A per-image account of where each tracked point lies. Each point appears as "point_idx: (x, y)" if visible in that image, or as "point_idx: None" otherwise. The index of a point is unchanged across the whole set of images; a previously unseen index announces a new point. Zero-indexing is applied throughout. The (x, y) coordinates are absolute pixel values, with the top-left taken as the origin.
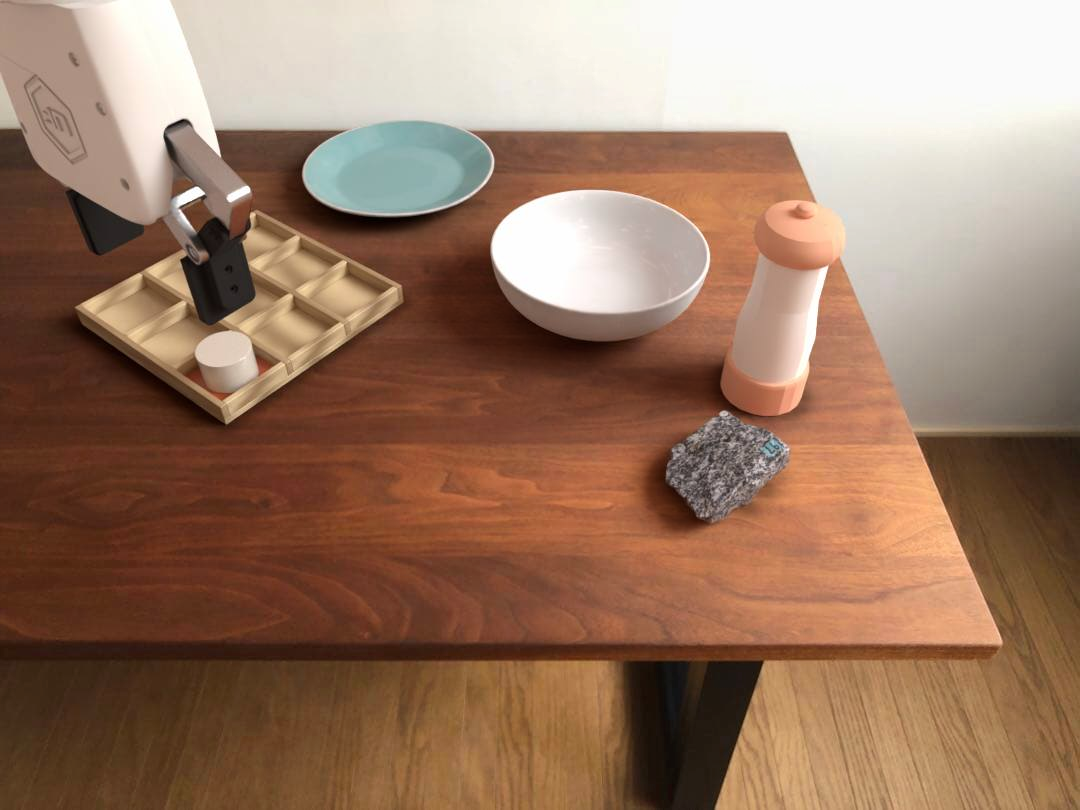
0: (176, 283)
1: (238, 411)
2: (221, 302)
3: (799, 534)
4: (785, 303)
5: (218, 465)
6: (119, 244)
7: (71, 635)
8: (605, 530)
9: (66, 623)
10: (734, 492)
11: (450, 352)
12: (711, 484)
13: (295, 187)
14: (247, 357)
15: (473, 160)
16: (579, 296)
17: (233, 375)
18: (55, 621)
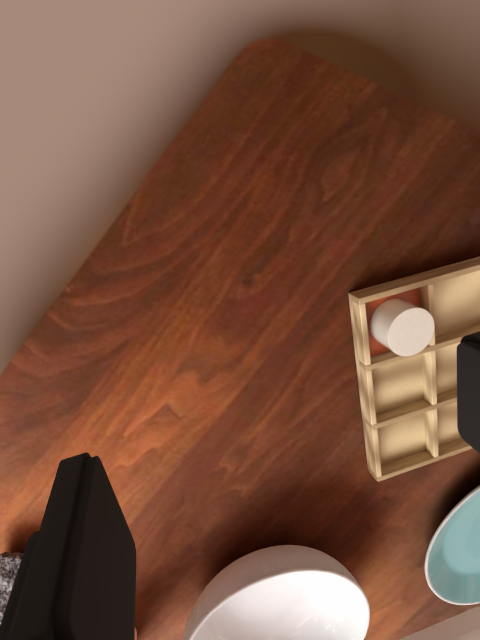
0: None
1: (352, 308)
2: (28, 545)
3: None
4: None
5: (312, 267)
6: (459, 385)
7: (223, 77)
8: (49, 487)
9: (238, 79)
10: None
11: (293, 475)
12: (13, 583)
13: None
14: (387, 345)
15: (461, 586)
16: (271, 583)
17: (381, 324)
18: (246, 72)
